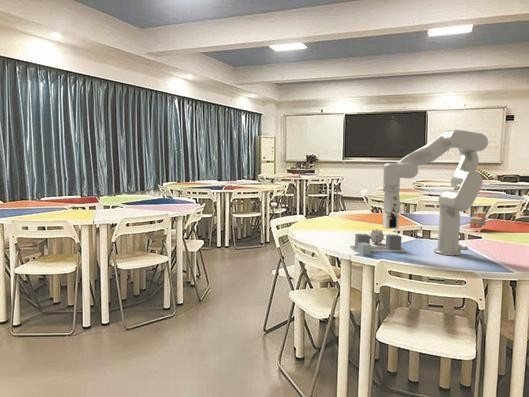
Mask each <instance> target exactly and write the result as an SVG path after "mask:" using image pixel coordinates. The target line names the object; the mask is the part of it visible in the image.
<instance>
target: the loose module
mask: <svg viewBox="0 0 529 397" xmlns="http://www.w3.org/2000/svg"><path fill="white" fill-rule="evenodd" d="M392 215H393V214H392ZM399 217H400V213H398V214H397V219H396V228H390V227H389V219H390V213H385V212H383V213H382V228H383V229H386V230H399V226H400V218H399Z"/></svg>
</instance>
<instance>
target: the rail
mask: <svg viewBox="0 0 529 397" xmlns="http://www.w3.org/2000/svg"><path fill="white" fill-rule="evenodd" d="M354 235H355V238H354V239H355V240H354V245H350V246H349V248H350V249H351V250H352V249H353V250H352V251H354V252H357V248H358V243H367V244H370V243H371V239H370V234H368V233H355V234H354ZM370 245H371V244H370ZM371 252H374V253H376V252H377V253H378V252H379V253H381V252H382V253H406V252H407V249H405V248H404V247H403V246H402V236H401V235H400V234H395V233H394V234H393V233H392V234H391V233H388V234H385V246H381V245H379V246H377V245H375V246H374V245H371Z"/></svg>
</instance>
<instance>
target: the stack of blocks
mask: <svg viewBox="0 0 529 397" xmlns="http://www.w3.org/2000/svg"><path fill="white" fill-rule="evenodd" d="M486 217H487V213H486V211H474V212H473V216H471V218H470V222H469V223H470V224H469V229H470V228H481V227H482V226H483V225H485V226H486V219H487V218H486Z"/></svg>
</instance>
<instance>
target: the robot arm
mask: <svg viewBox="0 0 529 397" xmlns="http://www.w3.org/2000/svg"><path fill="white" fill-rule="evenodd" d="M488 145H489V140H488V137H487V136H486V135H485V134H483V133H480V132H474V131H469V130H463V129H462V130H461V129H452V130H446V131H442V132H441V133H440V134H439V135H437V136H436V137H434V138H433V139H431V140H430V141H429V142H428V143H427V144H425V145H424V146H422V147H420V148H418V149H417V150H415V151H412V152H411V153H409V154H407V155H406V156H404V157H402V158H401V159H400V160H399V161H397V162H394V163H391V162H390V163H389V162H388V163H385V164H384V165H383V180H382V181H383V185H382V188H383V192H382V193H384V195H383V210H384V213H390V219H389V227H390V228H396V219H397V214H400V213H401V202H400V199H401V197H400V188H401V186H400V185H401V179H408V180H409V179H413V178H416V177H417V175H418V174H419V168H418V167H419V166H421V165H426V164H429V163H432V162H434V161H436V160H438V159H439V158H440V157H442V156H443V155H444V154H445V153H447V152H448V151H449V150H450V149H458V151H459V152H458V153H459V154H460V158H459V162H458V165H457V166H456V168H455V169H454V172H453V173H452V176H451V179H450V184H451V186H452V187H453V188H454V189H445V190H444V191H442V192H441V193H440V195H439V197H438V208H439V221H438V222H439V223H438V232H437V234H438V236H437V237H438V238H437V248H434V249H433V252H434V253H436V254H438V255H443V256H444V255H445V256H454V255H456V256H461V255H462V251H468V250H469V247H468V245H467V246H464V245H461V244H459V242H460V241H459V240H460V230H461V229H460V228H461V227H460V226H461V213H460V212H465V211H467V210H470V208H471V207H472V206H473V204H474V202H475V201H476V199H477V196H478V195H479V192H480V190H481V189H482V185H483V177H482V175H481V174H480V173H479V172H478V171H477V169H478V167H479V162H480V160H479V155H478V153H477V152H481V151H484V150H485V149H486V148H487V147H488ZM455 189H456V190H455ZM392 214H393V215H392ZM454 257H455V256H454Z"/></svg>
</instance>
